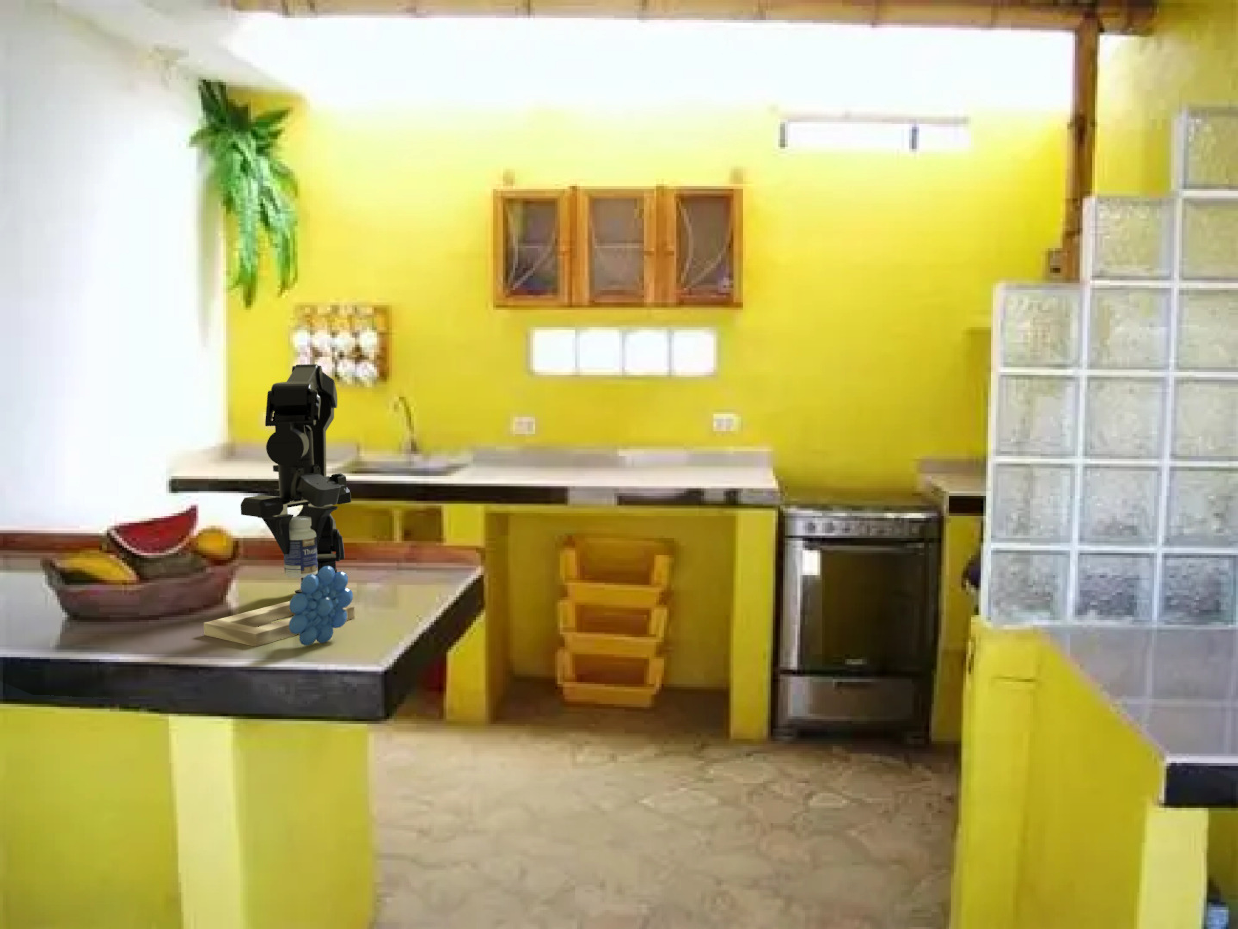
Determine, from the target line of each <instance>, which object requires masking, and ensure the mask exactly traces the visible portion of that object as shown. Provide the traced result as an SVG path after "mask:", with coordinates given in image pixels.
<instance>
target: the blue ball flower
mask: <svg viewBox="0 0 1238 929" xmlns="http://www.w3.org/2000/svg"><path fill="white" fill-rule="evenodd" d="M300 582H301V581H300ZM348 583H349V576H348V574H347V573H346V572H344V571H337V573H335V571H334V569H333V568H332V567H330V566H324V567H322V568H321V569H320V570H319V572H318V574H317V576H316V575H314V574H310V575H307V576H306V577H304V579H303V580H302V582H301V583H300V589H301V591H302V593H298V594H297V593H295V594H294V595H293V596H292V598H291V599H290V600H289V601H290V610H291V612H292V613H294V614H295V615H293V616H291V617H290V618H291V620H290V622H289V629H290V631H291V633H293V634H299V633H300V634H299V638H298V640H299V642H300V644H301V645H303V646H306V647H307V646H311V645H312V644H313V643H315V642H318V643H320V644H323V643H328V642H329V641H330V640H331V638H332V637H333V635H334V629H338V628H339V629H340V628H342V627H343V626H344V625H345V624H346V622H347V621H348V620H347V612H346V610H345V609H343V608H345V607H347V606H351V603H352V602H353V598H354V596H353V591H352V589H350V588H348V587H347V585H348ZM346 620H347V621H346Z"/></svg>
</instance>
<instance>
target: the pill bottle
mask: <svg viewBox="0 0 1238 929" xmlns="http://www.w3.org/2000/svg"><path fill="white" fill-rule="evenodd" d="M310 526H311V517H308V516H297V515H296V516H293V517H292V519H291V521H290V523H289V537H290V550H289V554H288V555H286V554H283V565H284V567H283V568H284V575H285V576H286V577H288V578H295V579H301V578H304V577H306V576H307V575H310V574H314V575H316V574H317V573H318V563H317V541H316V532H315V531H314V530H312V529H310Z"/></svg>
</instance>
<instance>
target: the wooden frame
mask: <svg viewBox="0 0 1238 929" xmlns="http://www.w3.org/2000/svg"><path fill="white" fill-rule="evenodd" d="M290 601H291V600H289V601H285V602H280V603H277V604H273V605H270V606H264V607H261V608H258V609H257V608H256V609H253V610H249V611H245V612H241V613H238V614H237V613H236V614H234V615H230V616H226V617H222V618H218V619H214V620H210V621H205V622H203V634H204V636H207V637H212V638H217V639H221V640H225V641H228V642H229V641H230V642H233V643H238V644H243V645H248V646H251V647H260V646H263V645H266V644H267V645H268V644H270V643H273V642H277V640H278V641H280V639H281V640H283V639H282V638H285V639H288V638H291V636H292V637H294V635H295V636H298V635H297V634H293V633H291V631H290V629H289V622H290V620H291V618H292V617H293V616H294V615H295V614H294V613H292V612H291V610H290ZM343 609H345V610H346V612H347V620H346V622H348V621H350V619H351V620H354V619H355V618H356V617H355V616H356V615H355V606H352V605H348V606H347V607H345V608H343ZM292 615H293V616H292ZM289 617H290V618H289ZM284 618H285V619H284ZM277 619H278V620H279V621H278V620H277ZM281 619H283V620H281ZM273 621H275V622H273ZM258 626H259V627H258ZM299 635H300V633H299Z"/></svg>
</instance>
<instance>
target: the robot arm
mask: <svg viewBox="0 0 1238 929" xmlns="http://www.w3.org/2000/svg"><path fill="white" fill-rule="evenodd" d="M266 394H267V396H266V408H265V422H264V423H265V424H264V425H265V427H274V428H275V429H274V430H275V431H274V432H273V433H271V435H270V436H269V437H268V439H267V442H266V445H265V449H266V454H267V456H268V458H270V460H271V461H272V462H273V463H275V465H272V471H273V472H274V473H275V472H276V473H278V474H277V475H278V489H274V490H273V494H274V496H272V495H263V494H260V495H254V496H247V497H246V496H245V497H244V498H243V499H242V500H241V503H240V515H241V516H248V517H255V518H256V517H257V518H259V519H262V521H263V522H264V523H265V525H266V527H267V528H268V529H269V531H270V532H271V534H272V535H273V537H274V540H275V541H276V543H277V546H278V547H279V548H280V550H281V552H282V554H283V555H284V554H286V555H288V554H289V550H290V537H289V523H290V521H291V519H292V517H294V514H292V513H290V514H289V513H288V509H289V508H293V507H301V506H302V508H301V510H300V511H299V513H298V514H297V515H296V516H308V517H311V526H310V529H312V530H314V531H315V532H316V541H317V563H318V572H319V570H320V569H321V568H322V567H324V566H330V567H332V568H333V569H334V571H335V573H337V572H338V569H337V562H340V561H341V560H345V548H344V546H345V545H344V540H343V536H342V535H341V533H340V530H339V528H337V524H336V520H335V518H334V517H333V515H332V513H333V511H335V510H338V507H339V506H336V505H344V504H349V503H352V494H351V491H350V489H349V488H348V484H347V483H348V482H347V476H346V475H345V474H343V473H341V472H338V473H333V474H331V475H330V476H329V475H328V476H327V431H328V429H329V427H330V425H331V424H332V422H333V420H334V418H335V409H337V408H338V392H337V386H336V382H335V380H334V379H333V378H332V377H330V376H329V375H328V374H326V373H324V371H323V368H322V365H319V364H317V363H315V364H314V363H311V364H308V363H307V364H304V363H303V364H302V363H301V364H296V365H292V367H291V374H290V375H289V376H288V378H287V380H286V381H281V382H275V383H273V384H272V385H271V388H270V390H268V391H267V393H266ZM317 574H318V573H317ZM317 574H316V576H317ZM303 579H304V578H300V582H302V580H303ZM298 593H302V591H301V588H299V589H296V590H294V594H298Z"/></svg>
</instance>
